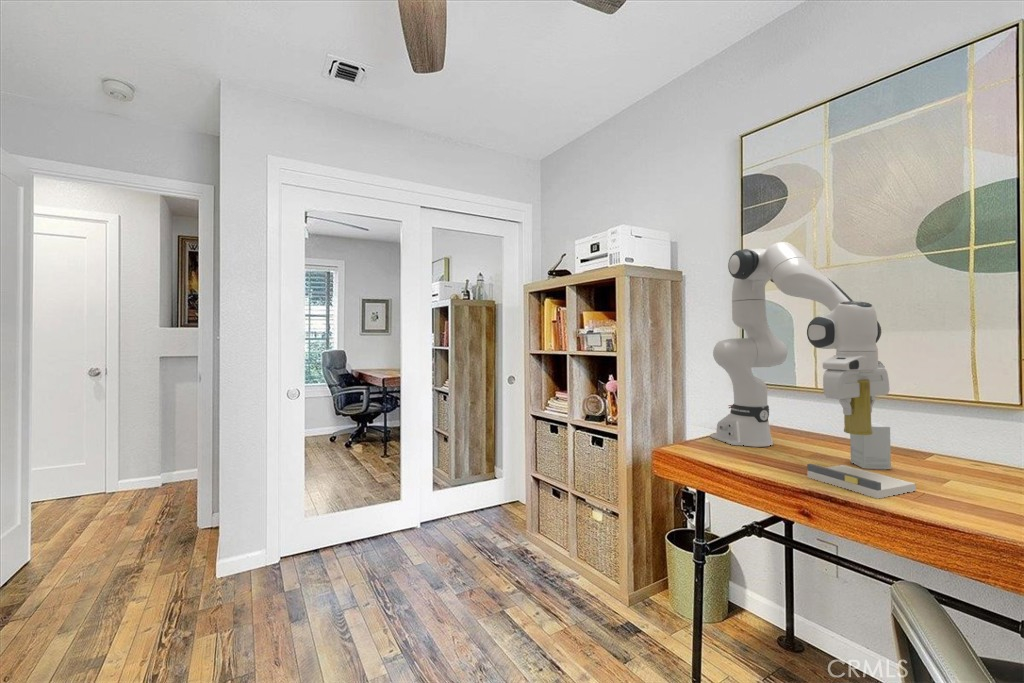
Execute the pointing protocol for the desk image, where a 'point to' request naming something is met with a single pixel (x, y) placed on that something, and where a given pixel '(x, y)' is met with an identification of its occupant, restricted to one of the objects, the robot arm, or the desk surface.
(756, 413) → the robot arm
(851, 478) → the shelf board
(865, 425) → the vase
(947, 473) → the desk surface
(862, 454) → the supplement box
